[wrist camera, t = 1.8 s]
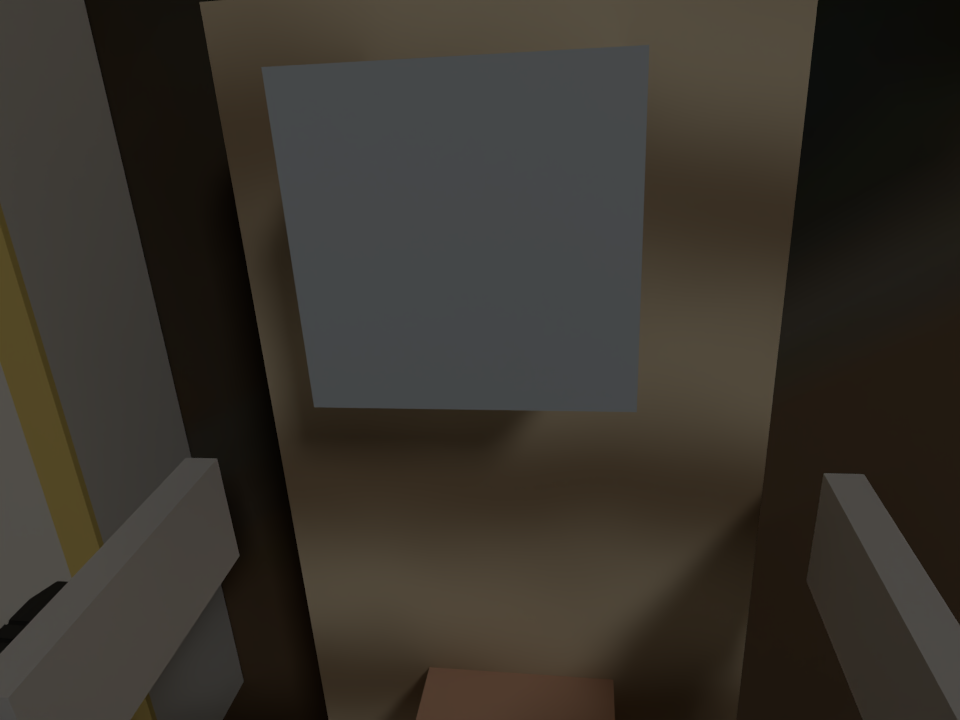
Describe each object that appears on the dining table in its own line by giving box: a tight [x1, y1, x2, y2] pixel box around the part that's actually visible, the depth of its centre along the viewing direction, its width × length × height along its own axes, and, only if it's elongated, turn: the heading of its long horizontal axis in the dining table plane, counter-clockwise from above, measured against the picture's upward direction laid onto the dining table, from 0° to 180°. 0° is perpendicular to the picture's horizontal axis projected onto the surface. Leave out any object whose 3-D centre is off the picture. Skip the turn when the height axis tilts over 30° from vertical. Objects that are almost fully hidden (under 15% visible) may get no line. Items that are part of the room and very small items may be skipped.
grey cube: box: [261, 45, 649, 412], centre depth 12 cm, size 5×5×5 cm
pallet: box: [200, 0, 818, 720], centre depth 20 cm, size 22×11×6 cm, turn 3°
